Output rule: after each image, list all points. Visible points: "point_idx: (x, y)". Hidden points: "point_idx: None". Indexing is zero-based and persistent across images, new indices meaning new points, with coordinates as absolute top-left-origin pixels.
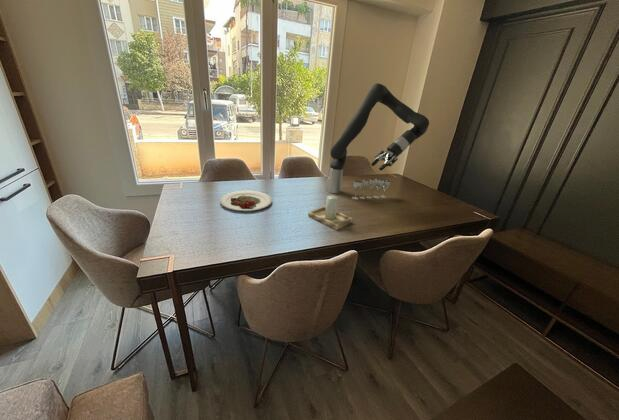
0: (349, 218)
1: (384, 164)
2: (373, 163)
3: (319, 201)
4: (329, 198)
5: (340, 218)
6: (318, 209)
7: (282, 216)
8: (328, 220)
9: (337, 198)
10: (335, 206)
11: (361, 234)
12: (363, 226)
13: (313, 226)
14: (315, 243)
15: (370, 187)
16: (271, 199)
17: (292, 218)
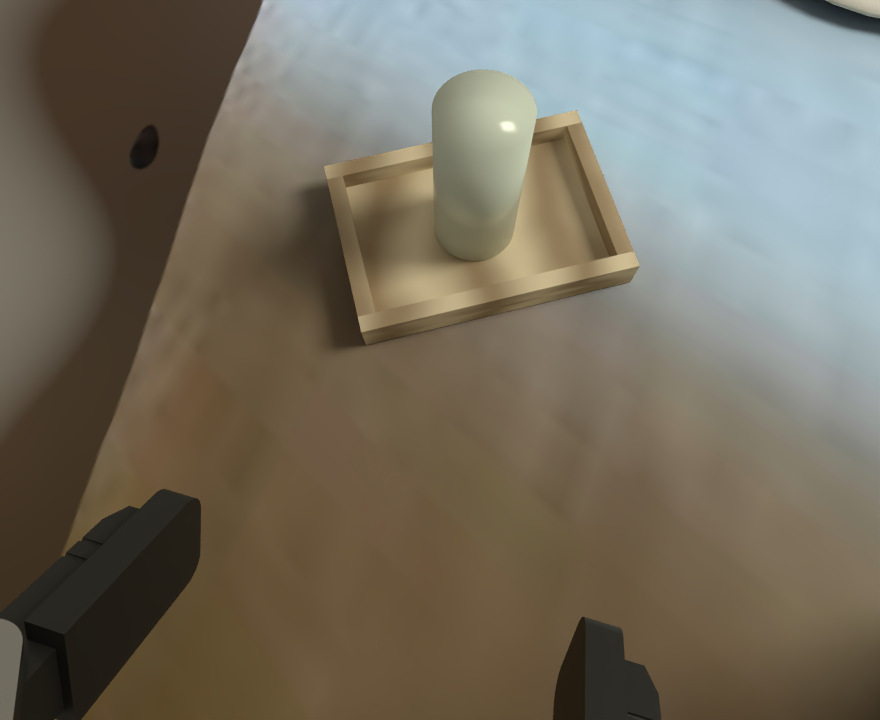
0: (367, 309)
1: (34, 623)
2: (572, 689)
3: (799, 341)
4: (474, 78)
5: (430, 284)
6: (593, 190)
7: (622, 7)
8: (412, 160)
9: (443, 134)
10: (433, 162)
11: (203, 293)
12: (273, 383)
13: (434, 96)
14: (277, 24)
15: None
16: (874, 12)
17: (577, 42)
